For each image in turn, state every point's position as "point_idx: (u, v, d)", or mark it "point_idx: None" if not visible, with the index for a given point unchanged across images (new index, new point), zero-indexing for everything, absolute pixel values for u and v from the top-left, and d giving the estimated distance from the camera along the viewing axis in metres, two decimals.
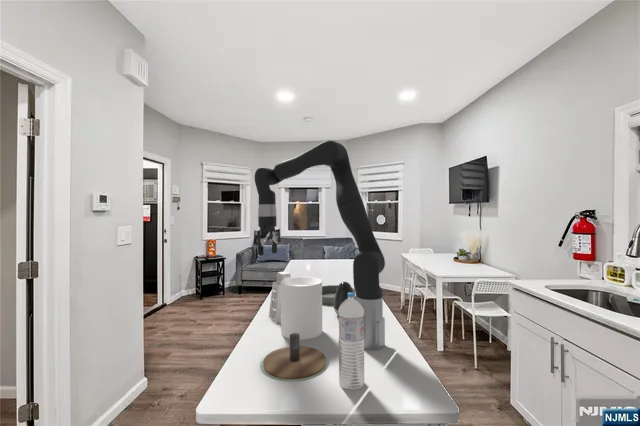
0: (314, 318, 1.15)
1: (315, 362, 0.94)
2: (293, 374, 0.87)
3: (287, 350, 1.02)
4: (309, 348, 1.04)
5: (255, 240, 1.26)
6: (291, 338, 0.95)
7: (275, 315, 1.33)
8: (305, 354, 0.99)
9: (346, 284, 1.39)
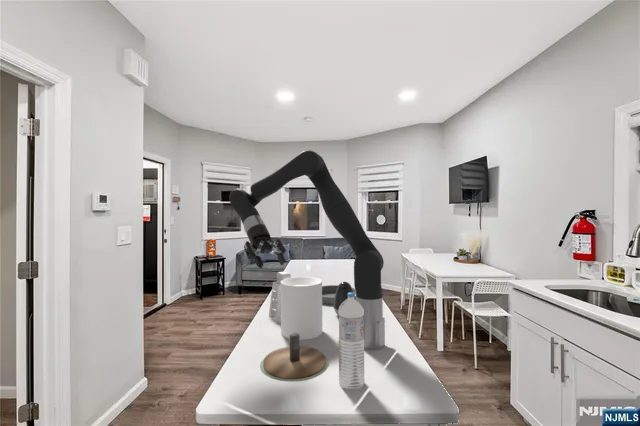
0: (314, 318, 1.15)
1: (315, 362, 0.94)
2: (293, 374, 0.87)
3: (287, 350, 1.02)
4: (309, 348, 1.04)
5: (248, 254, 1.07)
6: (291, 338, 0.95)
7: (275, 315, 1.33)
8: (305, 354, 0.99)
9: (346, 284, 1.39)
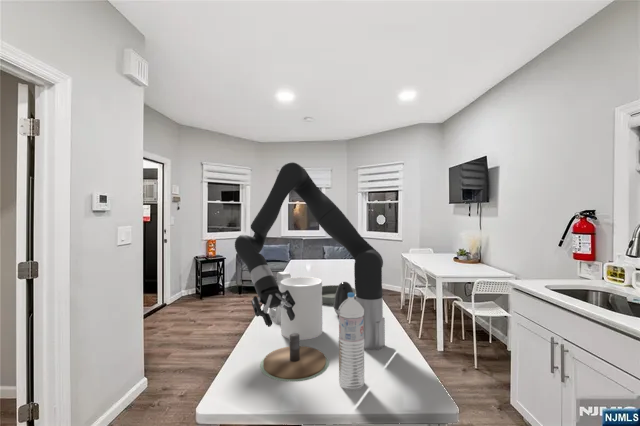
0: (314, 318, 1.15)
1: (315, 362, 0.94)
2: (293, 374, 0.87)
3: (287, 350, 1.02)
4: (309, 348, 1.04)
5: (256, 311, 1.01)
6: (291, 338, 0.95)
7: (275, 315, 1.33)
8: (305, 354, 0.99)
9: (346, 284, 1.39)
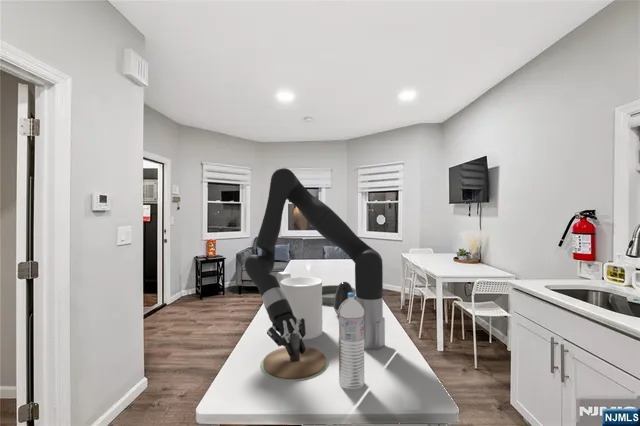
0: (314, 318, 1.15)
1: (315, 362, 0.94)
2: (293, 374, 0.87)
3: None
4: (309, 348, 1.04)
5: (277, 341, 0.95)
6: (291, 338, 0.95)
7: None
8: (305, 354, 0.99)
9: (346, 284, 1.39)
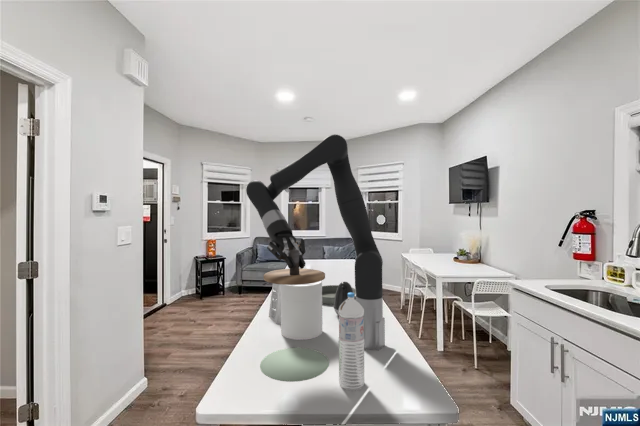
0: (314, 318, 1.15)
1: (315, 275, 0.95)
2: (293, 280, 0.88)
3: (287, 270, 1.03)
4: (308, 269, 1.05)
5: (277, 255, 0.96)
6: (291, 252, 0.96)
7: (275, 315, 1.33)
8: (305, 272, 1.00)
9: (346, 284, 1.39)
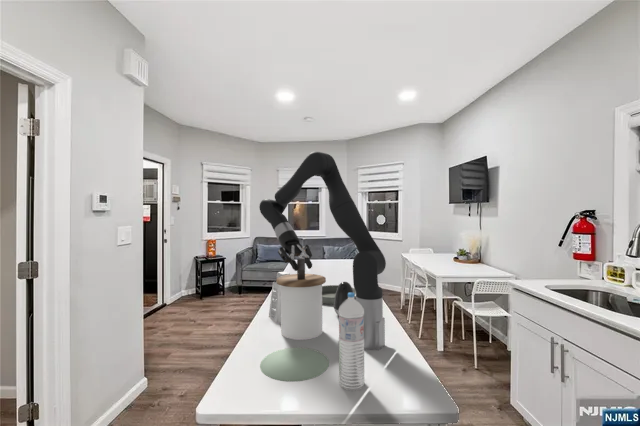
0: (314, 318, 1.15)
1: (317, 279, 1.19)
2: (300, 284, 1.12)
3: (294, 275, 1.27)
4: (312, 274, 1.29)
5: (284, 258, 1.20)
6: (298, 261, 1.20)
7: (275, 315, 1.33)
8: (309, 276, 1.24)
9: (346, 284, 1.39)
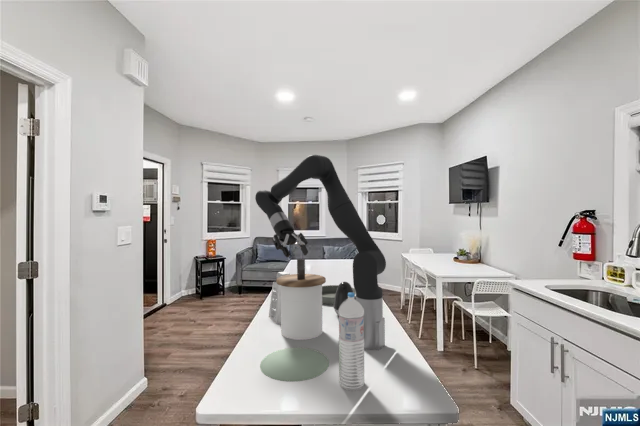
0: (314, 318, 1.15)
1: (317, 279, 1.19)
2: (300, 284, 1.12)
3: (294, 275, 1.27)
4: (312, 274, 1.29)
5: (276, 245, 1.23)
6: (298, 261, 1.20)
7: (275, 315, 1.33)
8: (309, 276, 1.24)
9: (346, 284, 1.39)
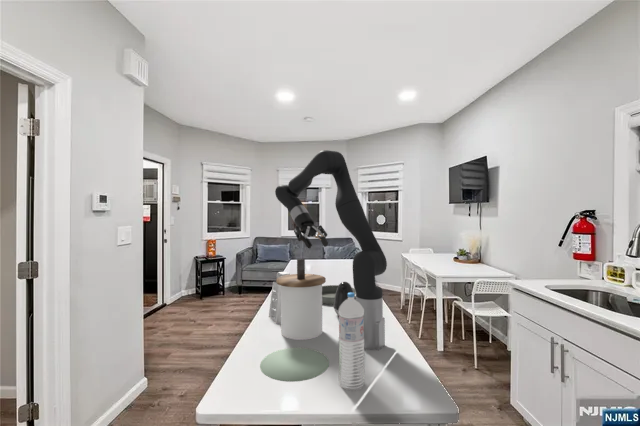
0: (314, 318, 1.15)
1: (317, 279, 1.19)
2: (300, 284, 1.12)
3: (294, 275, 1.27)
4: (312, 274, 1.29)
5: (298, 237, 1.28)
6: (298, 261, 1.20)
7: (275, 315, 1.33)
8: (309, 276, 1.24)
9: (346, 284, 1.39)
